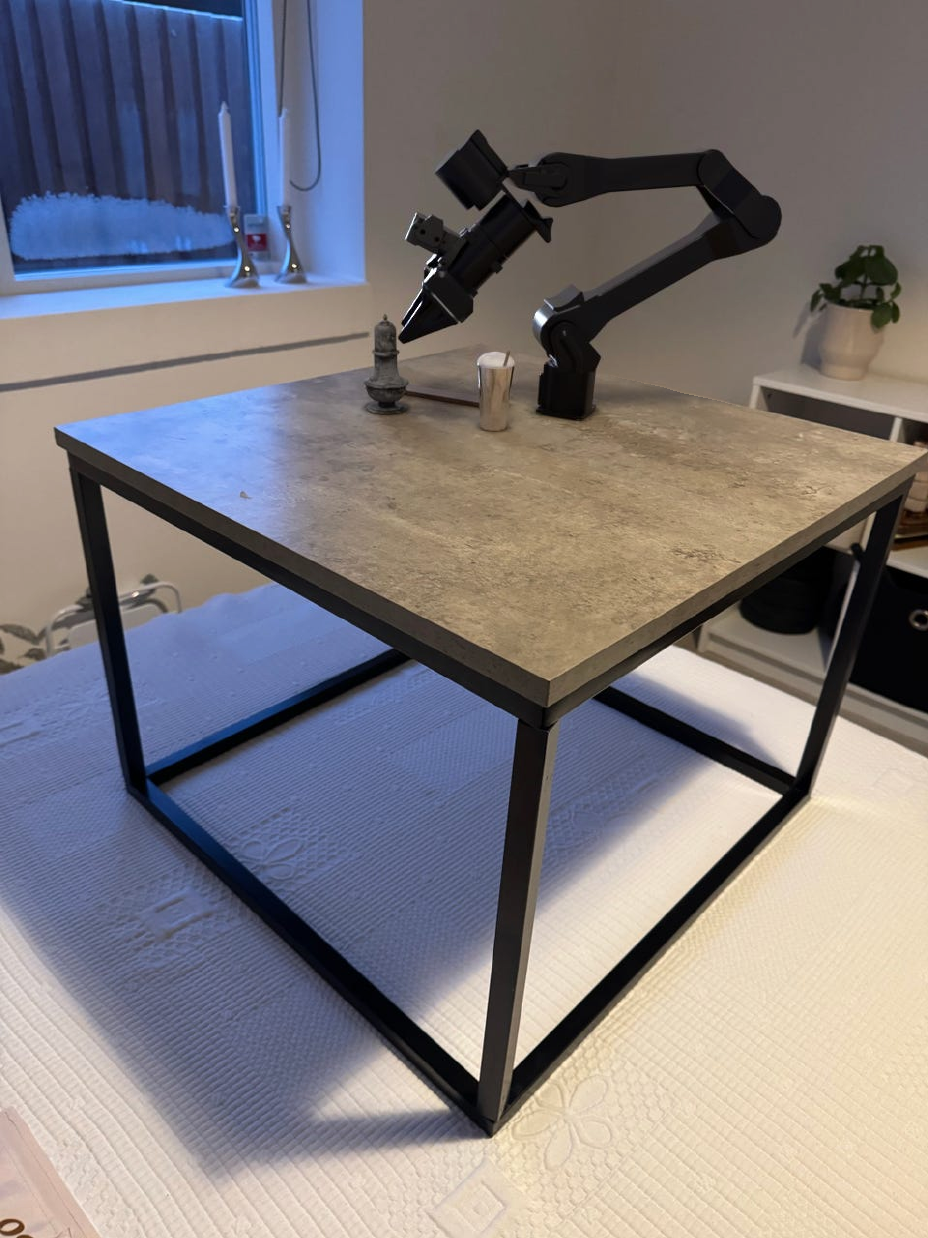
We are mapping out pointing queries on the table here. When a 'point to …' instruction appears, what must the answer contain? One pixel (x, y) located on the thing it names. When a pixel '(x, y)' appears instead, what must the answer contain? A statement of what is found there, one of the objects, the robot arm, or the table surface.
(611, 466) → the table surface
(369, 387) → the salt shaker
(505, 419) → the milkshake
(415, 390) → the strip
